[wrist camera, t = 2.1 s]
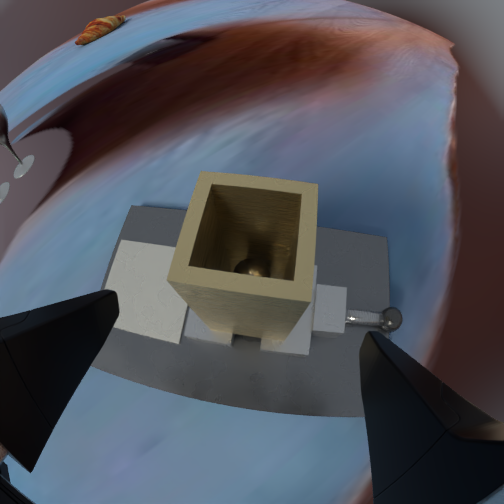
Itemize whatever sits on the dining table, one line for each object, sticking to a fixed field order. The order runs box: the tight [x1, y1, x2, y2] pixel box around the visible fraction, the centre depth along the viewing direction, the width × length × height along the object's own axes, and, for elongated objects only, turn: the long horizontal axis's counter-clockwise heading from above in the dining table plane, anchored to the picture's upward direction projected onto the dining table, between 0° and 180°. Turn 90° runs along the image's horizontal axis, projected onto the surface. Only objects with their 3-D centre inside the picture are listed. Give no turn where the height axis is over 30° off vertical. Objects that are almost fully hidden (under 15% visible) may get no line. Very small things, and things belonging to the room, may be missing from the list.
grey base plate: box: [91, 205, 402, 417], centre depth 17 cm, size 14×23×7 cm, turn 81°
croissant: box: [75, 15, 126, 45], centre depth 53 cm, size 21×10×8 cm, turn 157°
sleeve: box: [167, 171, 318, 341], centre depth 14 cm, size 5×5×9 cm
